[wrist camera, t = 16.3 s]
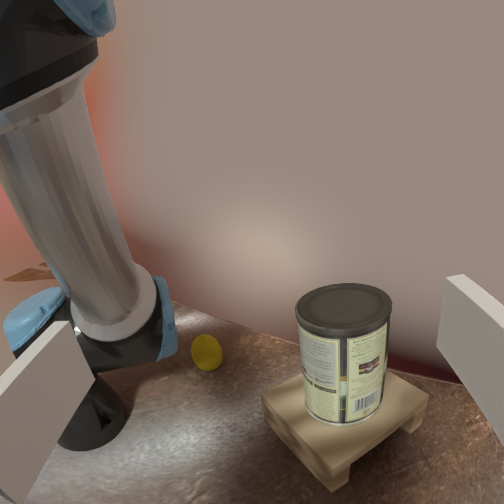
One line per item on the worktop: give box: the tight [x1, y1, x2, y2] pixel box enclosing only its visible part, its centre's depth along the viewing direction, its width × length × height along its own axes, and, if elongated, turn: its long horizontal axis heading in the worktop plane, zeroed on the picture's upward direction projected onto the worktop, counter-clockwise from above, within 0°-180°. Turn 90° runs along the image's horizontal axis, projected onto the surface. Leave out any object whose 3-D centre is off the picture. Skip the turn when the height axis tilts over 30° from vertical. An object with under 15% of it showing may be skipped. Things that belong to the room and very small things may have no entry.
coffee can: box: [295, 283, 392, 427], centre depth 34 cm, size 10×10×14 cm
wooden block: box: [260, 370, 429, 493], centre depth 37 cm, size 16×16×6 cm
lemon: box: [191, 334, 223, 371], centre depth 55 cm, size 6×6×8 cm
